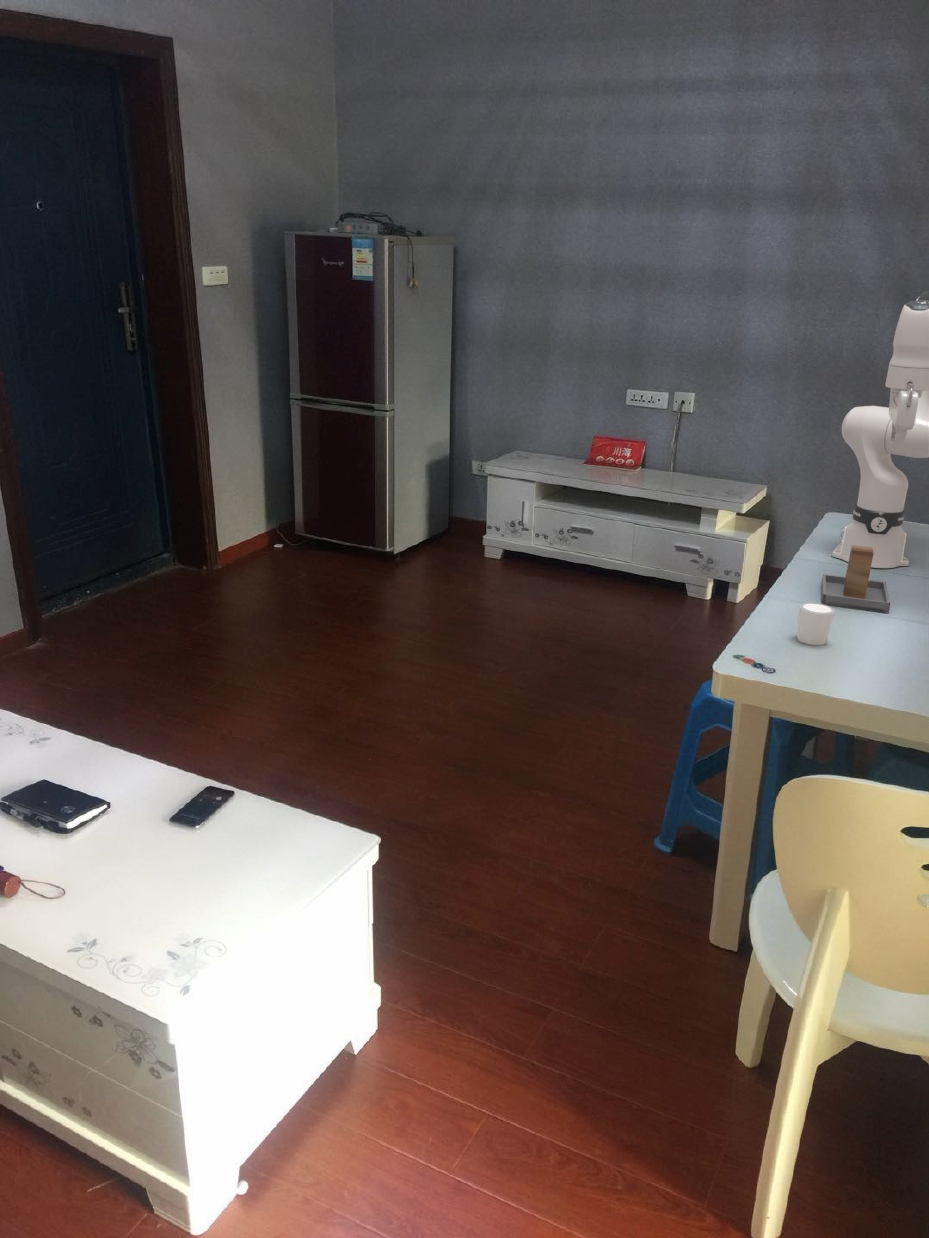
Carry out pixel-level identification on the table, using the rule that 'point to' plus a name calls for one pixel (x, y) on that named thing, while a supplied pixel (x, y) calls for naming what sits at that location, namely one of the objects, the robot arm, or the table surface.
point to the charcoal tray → (873, 599)
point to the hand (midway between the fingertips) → (896, 444)
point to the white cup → (814, 623)
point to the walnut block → (858, 571)
